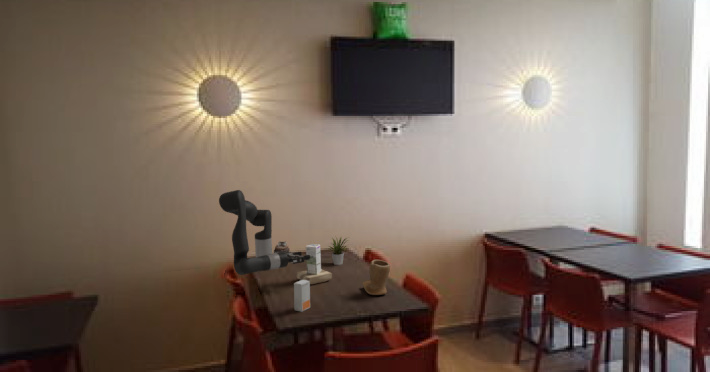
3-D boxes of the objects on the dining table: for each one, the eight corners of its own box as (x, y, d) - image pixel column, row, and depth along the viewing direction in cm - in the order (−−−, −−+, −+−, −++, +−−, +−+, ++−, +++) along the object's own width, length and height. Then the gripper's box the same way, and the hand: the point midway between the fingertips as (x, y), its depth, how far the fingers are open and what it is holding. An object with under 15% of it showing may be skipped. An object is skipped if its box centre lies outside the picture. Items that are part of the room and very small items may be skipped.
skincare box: (302, 312, 206) (301, 284, 205) (294, 310, 209) (293, 283, 207) (310, 307, 211) (310, 280, 210) (303, 306, 214) (302, 279, 212)
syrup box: (321, 271, 252) (320, 244, 250) (316, 274, 246) (315, 246, 245) (311, 270, 254) (310, 243, 252) (306, 274, 248) (305, 246, 246)
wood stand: (297, 280, 252) (296, 272, 251) (318, 275, 259) (318, 267, 259) (309, 286, 241) (309, 278, 241) (332, 281, 249) (331, 273, 248)
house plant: (357, 262, 283) (356, 234, 281) (344, 268, 271) (343, 239, 270) (336, 259, 291) (336, 232, 289) (323, 265, 279) (322, 237, 277)
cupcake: (274, 256, 301) (273, 240, 300) (290, 255, 302) (289, 239, 301) (273, 260, 292) (272, 244, 291) (289, 259, 293) (289, 243, 292)
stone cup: (392, 295, 224) (392, 264, 223) (367, 297, 223) (366, 265, 221) (386, 285, 239) (385, 255, 238) (362, 287, 237) (361, 257, 236)
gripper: (282, 255, 230) (312, 250, 240) (269, 250, 242) (298, 245, 251) (283, 271, 231) (312, 265, 241) (269, 265, 243) (298, 259, 252)
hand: (305, 255), depth 246 cm, fingers open, 8 cm apart
